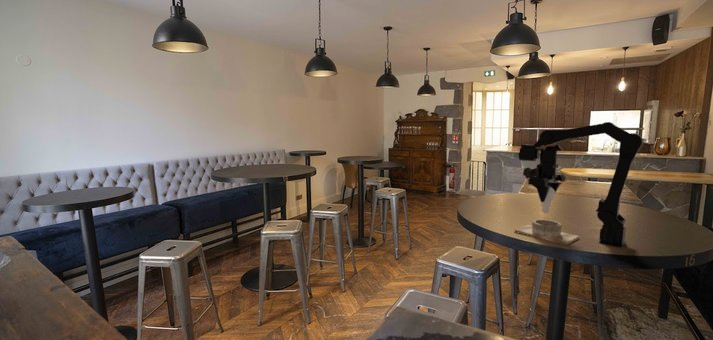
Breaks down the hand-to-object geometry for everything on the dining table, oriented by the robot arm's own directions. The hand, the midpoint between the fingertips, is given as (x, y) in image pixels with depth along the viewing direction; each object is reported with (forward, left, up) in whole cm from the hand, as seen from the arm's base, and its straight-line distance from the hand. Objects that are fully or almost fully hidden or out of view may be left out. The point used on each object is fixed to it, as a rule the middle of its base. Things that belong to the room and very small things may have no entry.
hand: (546, 200), depth 135 cm
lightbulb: (0, 0, -5) cm, 5 cm away
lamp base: (-3, +5, -12) cm, 14 cm away
